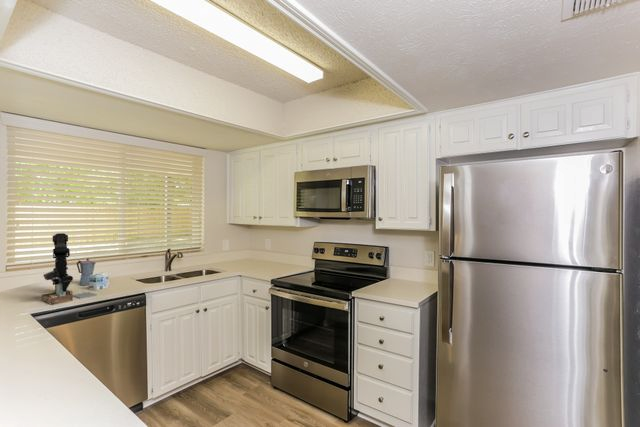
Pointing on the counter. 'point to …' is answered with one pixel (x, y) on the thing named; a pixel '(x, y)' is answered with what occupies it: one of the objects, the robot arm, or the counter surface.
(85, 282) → the moka pot
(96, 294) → the mat
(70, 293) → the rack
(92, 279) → the light bulb box
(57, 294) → the grey-green rectangular block
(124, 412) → the counter surface
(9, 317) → the counter surface
